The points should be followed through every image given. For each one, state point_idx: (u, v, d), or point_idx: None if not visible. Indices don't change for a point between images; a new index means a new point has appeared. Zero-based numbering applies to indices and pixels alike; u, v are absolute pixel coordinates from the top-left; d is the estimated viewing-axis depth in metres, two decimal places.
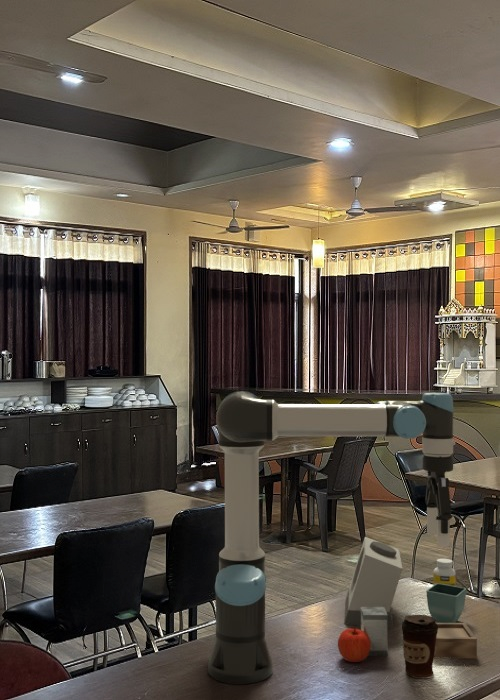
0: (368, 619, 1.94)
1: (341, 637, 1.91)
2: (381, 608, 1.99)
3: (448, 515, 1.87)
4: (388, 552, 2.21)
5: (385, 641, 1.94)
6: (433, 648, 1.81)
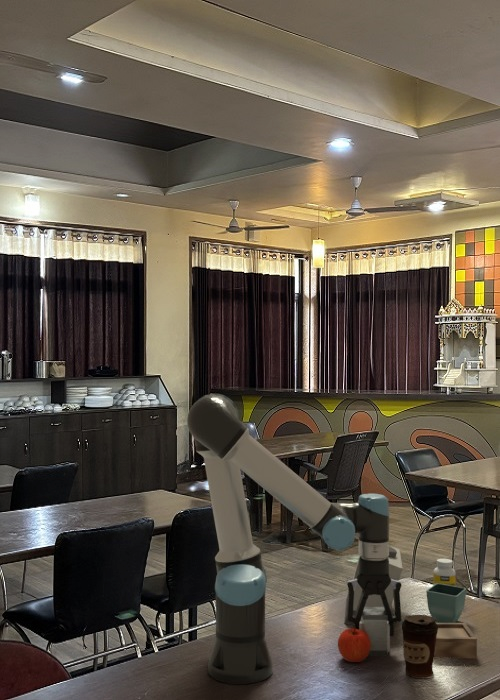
0: (368, 619, 1.94)
1: (341, 637, 1.91)
2: (381, 608, 1.99)
3: (347, 617, 1.97)
4: None
5: (385, 641, 1.94)
6: (433, 648, 1.81)
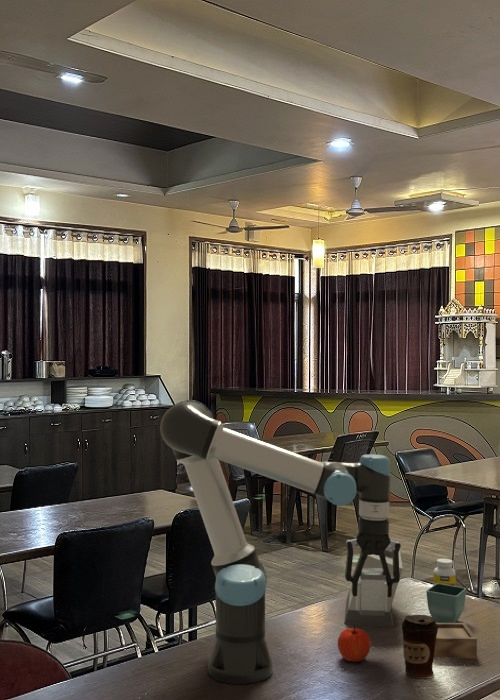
0: (366, 579, 1.94)
1: (341, 637, 1.91)
2: (379, 569, 1.99)
3: (345, 577, 1.97)
4: (388, 552, 2.21)
5: (382, 601, 1.94)
6: (433, 648, 1.81)
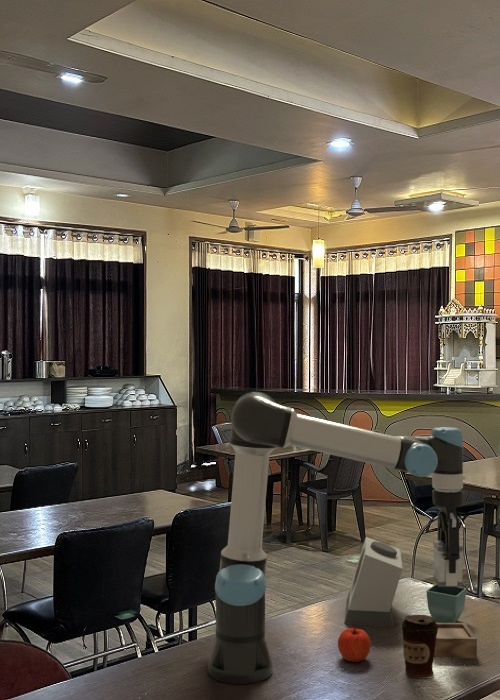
0: None
1: (341, 637, 1.91)
2: (438, 541, 2.00)
3: (456, 556, 1.91)
4: (388, 552, 2.21)
5: None
6: (433, 648, 1.81)
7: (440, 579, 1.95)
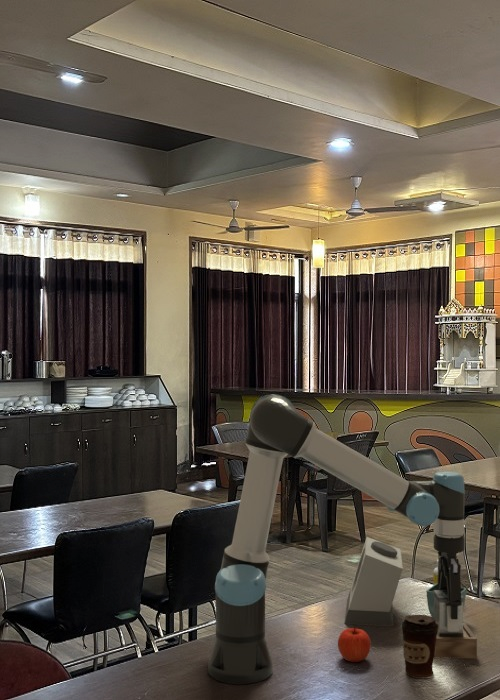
0: None
1: (341, 637, 1.91)
2: (438, 591, 2.00)
3: (458, 603, 1.90)
4: (389, 552, 2.21)
5: None
6: (433, 648, 1.81)
7: (441, 630, 1.95)
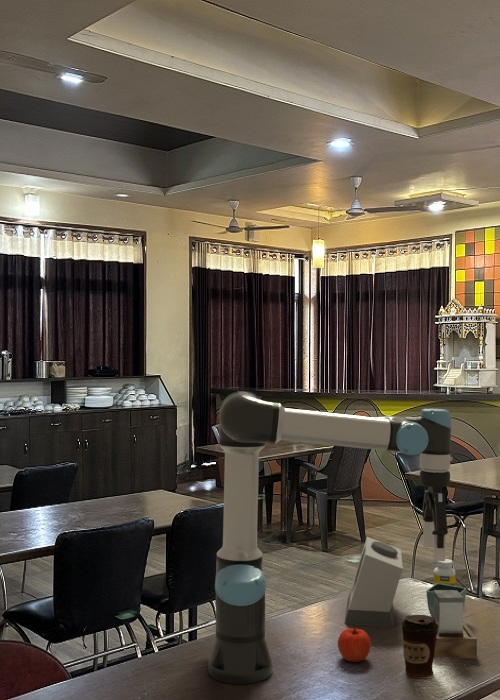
0: None
1: (341, 637, 1.91)
2: (438, 591, 2.00)
3: (444, 530, 1.90)
4: (389, 552, 2.21)
5: None
6: (433, 648, 1.81)
7: (441, 630, 1.95)
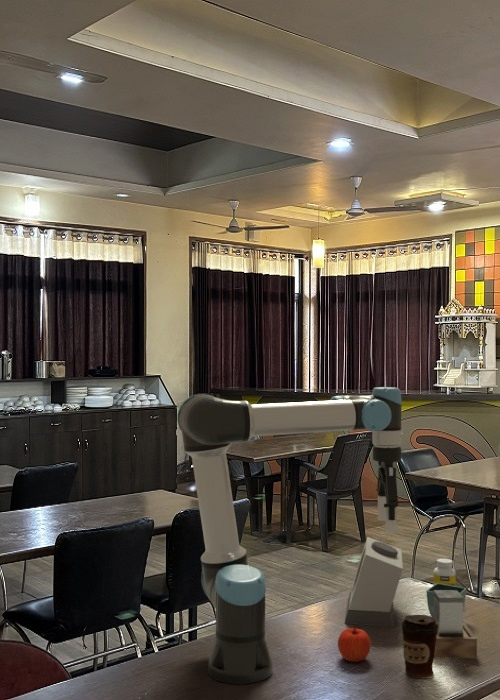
0: None
1: (341, 637, 1.91)
2: (438, 591, 2.00)
3: (395, 502, 1.98)
4: (389, 552, 2.21)
5: None
6: (433, 648, 1.81)
7: (441, 630, 1.95)
